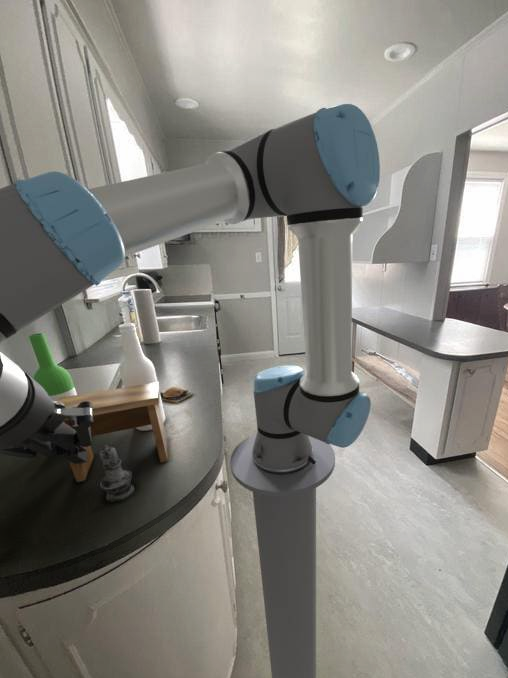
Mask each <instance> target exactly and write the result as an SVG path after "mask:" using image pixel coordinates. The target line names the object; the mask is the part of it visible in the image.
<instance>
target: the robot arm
mask: <svg viewBox="0 0 508 678" xmlns="http://www.w3.org/2000/svg"><path fill="white" fill-rule="evenodd" d="M380 164H381V162H380V152H379V148H378V143H377V138H376V134H375V132H374V130H373V127H372V125H371V123H370V120H369V118H368V117H367V115H366V114H365V112H363V110H361V108H359V107H358V106H357V105H355V104H352V103H341V104H338V105H335V106H331V107H328V108H327V107H322V108H320V109H318V110H317V111H315V112H313V113H311V114H308V115H306V116H303V117H300V118H298V119H295V120H292V121H290V122H288V123H284V124H282V125H280V126H276V127H275V128H271V129H268V130H266V131H264V132H262V133H260V134H258V135H256V136H254V137H252V138H250V139H248V140H246V141H244V142H241V144H238V145H236V146H233V147H231V148H229V149H225V150H222V151H217V152H213V153H211V154H210V155H209V156H208V157H207V159H206V161H205V163H203V164H198V165H193V166H189V167H184V168H178V169H175V170H169V171H164V172H161V173H156V174H151V175H148V176H142V177H137V178H133V179H128V180H124V181H118V182H114V183H110V184H105V185H99V186H96V187H92V188H87V187H86V186H84V185H83V184H82V183H81V182H80V181H78V180H77V179H75V178H74V177H73V176H71V175H69V174H66V173H64V172H60V171H48V172H44V173H42V174H38V175H36V176H33V177H29V178H27V179H21V178H16V180H13V181H12V183H11V184H8V185H6V186H4V187H1V188H0V343H2V342H4V341H5V340H7V339H9V338H10V337H12V336H14V335H16V334H17V332H19V331H21V330H22V329H24V328H25V327H27V326H29V325H30V324H32V323H34V322H36V321H38V319H40V318H42V317H44V316H45V315H47V314H49V313H50V312H52V311H54V310H56V309H57V308H59V307H60V306H61V305H63V304H65V303H67V302H69V301H70V300H72V299H73V298H75V297H77V296H78V295H80V294H81V293H84V292H85V291H86V290H88V289H89V288H92V287H94V286H96V287H97V286H99V285H100V284H101V282H102V281H103V280H104V279H106V277H108V276H109V275H110V274H112V273H113V272H115V271H116V270H117V269H119V268H120V267H121V266H122V265H123V263H124V261H125V258H126V257H129V256H132V255H135V254H137V253H140V252H142V251H143V252H144V251H145V250H149V249H150V248H151V249H152V248H154V247H156V246H159V245H161V244H164V243H167V242H170V241H172V240H175V239H178V238H181V237H183V236H186V235H189V234H192V233H195V232H197V231H200V230H203V229H205V228H209V227H211V226H214V225H216V224H219V223H222V222H224V223H227V224H229V225H237V224H240V223H243V222H244V221H250V220H256V219H265V218H278V217H279V218H280V217H286V224H287V225H286V226H287V229H288V230H289V231H290V232H291V233H292V234H293V235H294V236H295V237H296V238H297V244H298V245H297V247H298V259H299V260H298V262H299V277H300V278H299V279H300V292H301V307H302V321H303V323H302V324H303V338H304V339H303V340H304V355H305V368H306V369H305V370H306V372H305V370H304V369H303V367H302V366H298V365H279V366H274V367H270V368H267V369H264V370H262V371H260V372H258V373H257V374H256V375H255V376H254V379H253V391H252V392H253V398H254V408H255V419H256V428H257V432H256V433H257V435H256V438H255V442H254V445H253V450H252V456H253V462H254V464H255V465H256V466H257V467H258V468H259V469H261V470H262V471H265V472H267V473H271V474H290V473H294V472H297V471H300V470H302V469H304V468H305V467H306V466H307V465H308V464H309V463H310V462H311V463H312V464H313V465H314V464H315V463H316V461H315V460H314V459H313V458H312V457H313V450H312V445H311V442H310V439H309V437H308V436H310V437H313V438H315V439H318V440H320V441H322V442H325V443H326V444H330V445H331V446H335V447H336V448H337V447H338V448H341V449H343V448H344V449H345V448H348V447H350V446H351V445H352V444H354V443H355V442H356V441H357V439H358V438H359V437H360V435H361V433H362V432H363V430H364V428H365V426H366V424H367V421H368V418H369V415H370V411H371V405H372V401H371V398H370V396H369V394H366V393H365V392H363V391H361V392H360V378H359V376H358V375H357V374H356V373H354V372H353V371H352V354H353V353H352V351H353V349H352V345H353V343H352V342H353V340H352V339H353V338H352V337H353V336H352V335H353V330H352V329H353V326H352V325H353V323H352V322H353V234H354V231H355V230H356V229H357V228H358V227H359V225H360V224H361V223H362V222H363V219H364V218H363V217H364V212H363V211H364V207H366V206H367V205H369V204H370V203H372V201H374V199H375V198H376V195H377V193H378V187H379V185H380V179H381V165H380ZM33 378H34V377H31V376H30V375H29V374H28V373H27V372H26V371H24V370H22V368H21V367H20V366H19V365H18V364H16V363H15V362H14V361H13V360H12V359H11V358H9V357H8V356H7V355H5V354H4V353H3V352H1V351H0V455H2V456H9V457H15V458H22V459H27V460H28V459H29V460H30V459H34V458H37V457H38V455H39V454H40V455H41V456H44V457H52V456H53V457H55V458H62V459H64V460H66V461H68V462H69V461H70V462H73V463H75V464H78V463H83V462H87V452H86V447H88V446H90V447H91V446H92V445H93V443H92V436H91V427H90V426H91V425H92V424H93V410H92V402H88V401H84V402H81V403H80V404H79V405H78V406H73V407H72V408H66V407H65V405H64V404H63V403H61V402H58V401H54V400H52V399H51V398H50V397H49V395H48V394H47V392H46V391H45V390H44V388H43V387H42V386H41V385H40V384H39V383H37V382H36V381H35V380H34V379H33ZM65 419H69V421H70V422H72V426H73V427H76V430H74V429H73V428H71V427H70V426H68V425H67V424H66V423H64V422H63V421H64V420H65Z"/></svg>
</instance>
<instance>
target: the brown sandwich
mask: <svg viewBox="0 0 508 678" xmlns="http://www.w3.org/2000/svg"><path fill="white" fill-rule="evenodd" d="M160 396H161V400H162V401H165V402H171V403H175V404H179V403H180V402H182V401H184V400H186V399H188V398H189V397H191V396H194V394H193V392H190V391H189V390H185V389H183V388H182V387H177V386H172V387H169V388H168V389H166V390H165V391H164V392H163V391H160Z"/></svg>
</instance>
